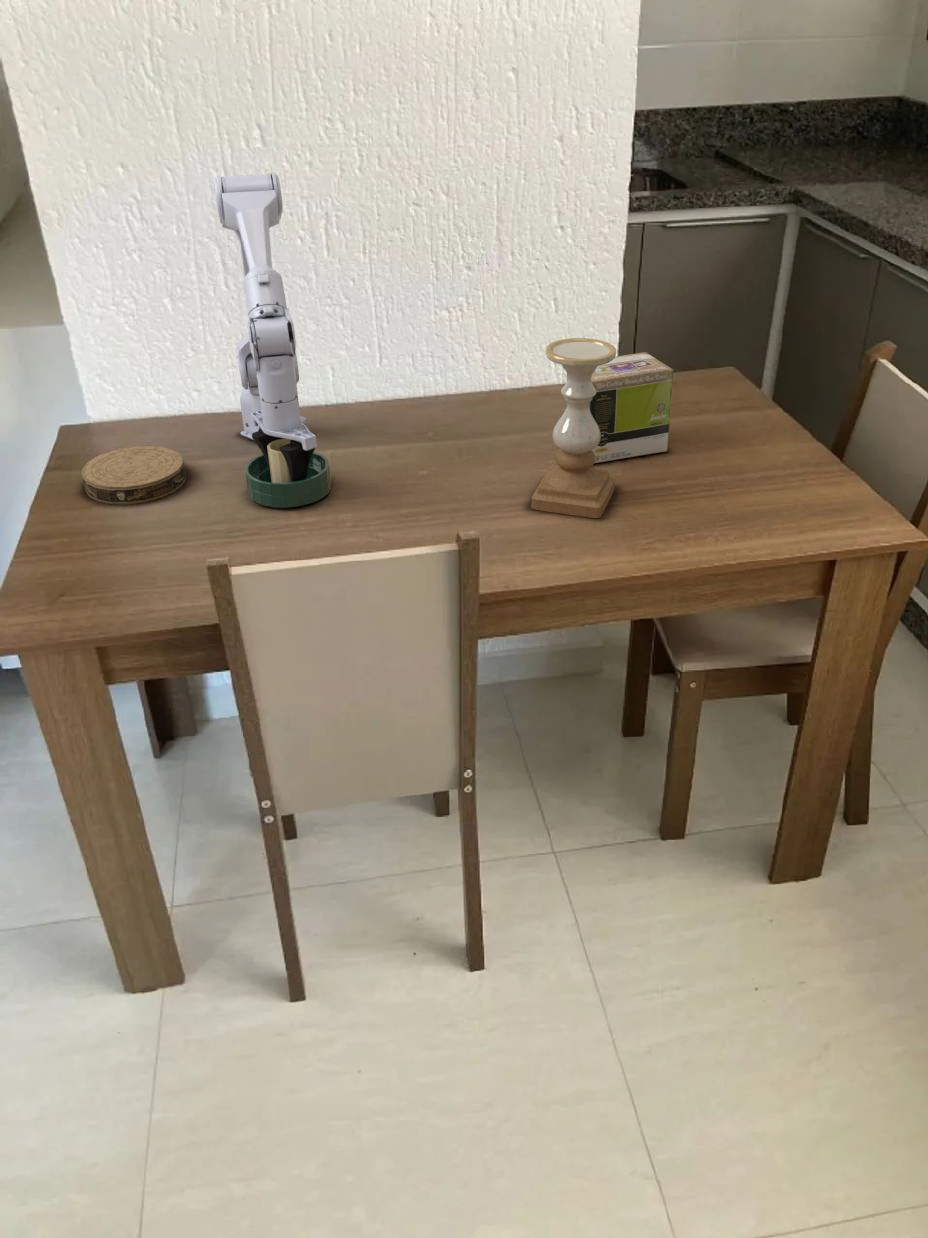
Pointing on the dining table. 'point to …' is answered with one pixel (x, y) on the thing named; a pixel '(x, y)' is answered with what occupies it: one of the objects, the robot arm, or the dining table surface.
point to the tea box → (631, 406)
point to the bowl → (288, 484)
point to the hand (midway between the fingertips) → (288, 478)
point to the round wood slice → (134, 475)
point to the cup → (278, 462)
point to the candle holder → (576, 435)
